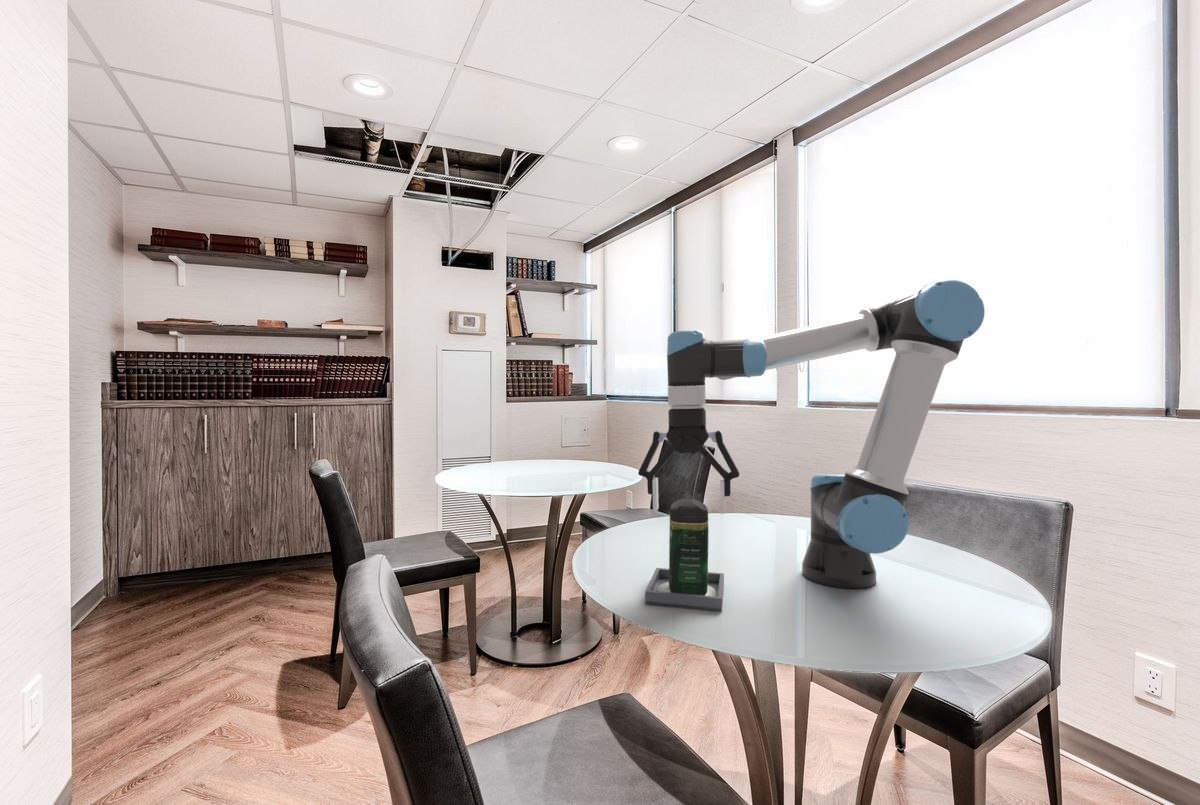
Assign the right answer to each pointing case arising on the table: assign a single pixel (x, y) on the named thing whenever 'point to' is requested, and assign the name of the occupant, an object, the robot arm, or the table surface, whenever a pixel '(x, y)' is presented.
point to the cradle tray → (662, 596)
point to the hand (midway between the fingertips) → (688, 511)
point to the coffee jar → (688, 547)
